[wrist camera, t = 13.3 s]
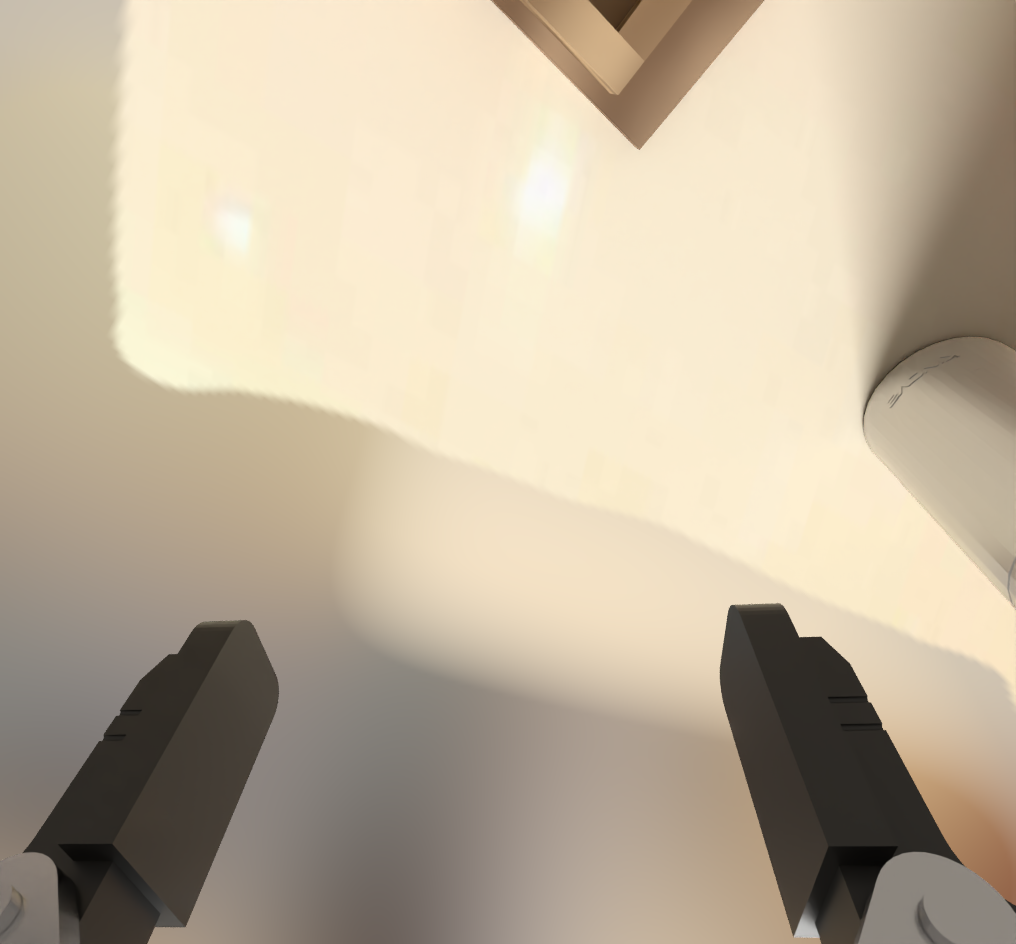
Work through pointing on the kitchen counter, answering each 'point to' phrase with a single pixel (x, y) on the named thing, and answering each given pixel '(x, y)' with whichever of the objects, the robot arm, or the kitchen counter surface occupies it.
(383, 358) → the kitchen counter surface
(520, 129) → the kitchen counter surface
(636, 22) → the wooden box
